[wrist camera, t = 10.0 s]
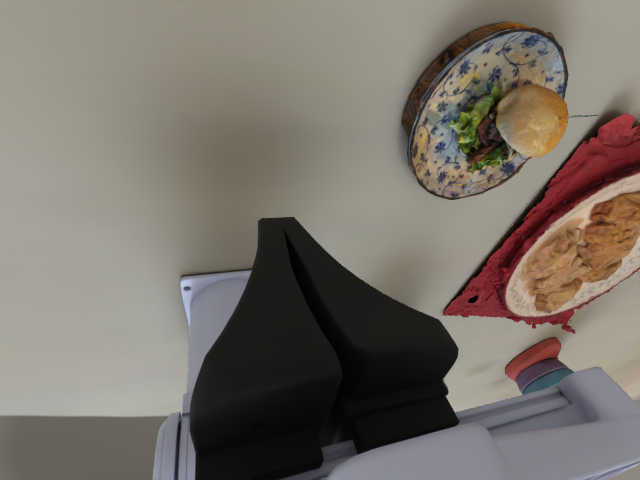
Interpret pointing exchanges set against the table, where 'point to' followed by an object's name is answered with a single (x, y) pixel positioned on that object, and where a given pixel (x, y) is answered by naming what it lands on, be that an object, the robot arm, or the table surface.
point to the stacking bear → (538, 367)
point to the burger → (486, 110)
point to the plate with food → (568, 237)
